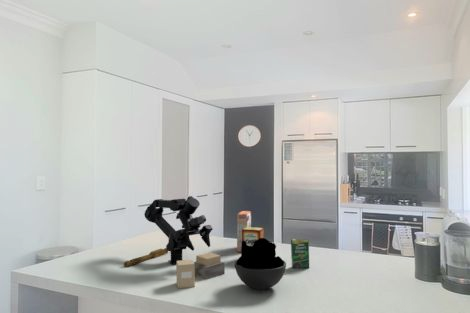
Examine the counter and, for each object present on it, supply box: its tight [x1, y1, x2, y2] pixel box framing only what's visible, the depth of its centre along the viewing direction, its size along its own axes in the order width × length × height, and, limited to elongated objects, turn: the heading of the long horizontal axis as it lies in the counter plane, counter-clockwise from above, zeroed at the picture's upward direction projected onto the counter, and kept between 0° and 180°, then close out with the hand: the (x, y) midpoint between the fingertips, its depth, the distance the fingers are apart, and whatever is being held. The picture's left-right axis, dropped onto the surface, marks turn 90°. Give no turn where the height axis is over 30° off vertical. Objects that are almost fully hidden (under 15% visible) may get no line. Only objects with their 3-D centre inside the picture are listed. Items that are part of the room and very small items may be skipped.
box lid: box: [195, 252, 222, 266], centre depth 155 cm, size 8×8×3 cm
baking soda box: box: [242, 226, 265, 246], centre depth 178 cm, size 10×6×16 cm
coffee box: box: [290, 238, 310, 269], centre depth 164 cm, size 8×3×13 cm, turn 92°
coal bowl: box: [234, 237, 287, 291], centre depth 138 cm, size 20×20×19 cm
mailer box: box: [176, 259, 196, 289], centre depth 142 cm, size 6×6×9 cm
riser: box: [193, 261, 226, 280], centre depth 155 cm, size 10×10×5 cm
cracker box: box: [236, 210, 252, 253], centre depth 199 cm, size 14×6×21 cm, turn 168°
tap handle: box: [123, 247, 169, 268], centre depth 179 cm, size 3×3×30 cm
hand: (201, 248), depth 159 cm, fingers open, 9 cm apart
